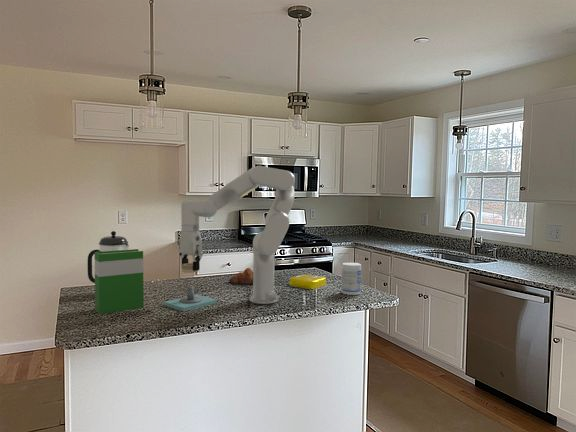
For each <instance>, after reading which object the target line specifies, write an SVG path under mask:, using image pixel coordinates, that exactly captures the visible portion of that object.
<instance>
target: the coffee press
mask: <svg viewBox="0 0 576 432" xmlns="http://www.w3.org/2000/svg"><path fill="white" fill-rule="evenodd" d="M98 245H99V249H93V250H91V251H89V253H88V255H87V277H88V280H89V281H90V282H91V283H93V284H95V277H94V276H93V257H94V256H95V254H94V252H103V251H117V250H131V249H130V248H131V247H130V245H129V241H128V239H127V238H126V237H124V236H120V235H117V233H116V231H115V230H112V231H111V232H110V236H109V235H108V236H104V237H102V238H100V239H99V242H98Z"/></svg>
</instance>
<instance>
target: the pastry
mask: <svg viewBox="0 0 576 432" xmlns="http://www.w3.org/2000/svg"><path fill="white" fill-rule="evenodd" d="M228 282H229V283H230V284H235V283H236V284H237V285H238V284H241V285H248V286H250V285H253V269H251V268H250V267H247V268H246V269H244V271H240V272H237V273H236V274H235V275H232V276H231V277H230V278H229V280H228Z"/></svg>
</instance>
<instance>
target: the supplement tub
mask: <svg viewBox="0 0 576 432" xmlns="http://www.w3.org/2000/svg"><path fill="white" fill-rule="evenodd" d="M341 293H342V294H343V295H346V294H347V295H346V296H358V295H360V294H361V293H362V264H361V263H358V262H343V263H342V265H341Z"/></svg>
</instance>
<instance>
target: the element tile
mask: <svg viewBox="0 0 576 432" xmlns="http://www.w3.org/2000/svg"><path fill="white" fill-rule="evenodd" d="M326 281H327V278H326V277H325V276H320V275H314V274H306V273H304V274H300V275H296V276H292V277H291V276H290V278H289V286H290V287H296V288H301V289H307V290H315V289H318V288H320V287H324V286H326V284H327V282H326Z"/></svg>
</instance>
